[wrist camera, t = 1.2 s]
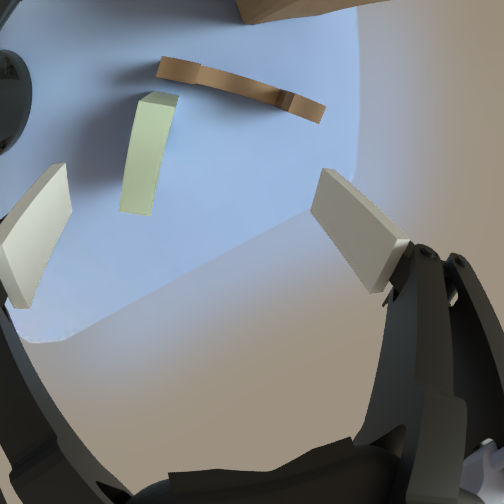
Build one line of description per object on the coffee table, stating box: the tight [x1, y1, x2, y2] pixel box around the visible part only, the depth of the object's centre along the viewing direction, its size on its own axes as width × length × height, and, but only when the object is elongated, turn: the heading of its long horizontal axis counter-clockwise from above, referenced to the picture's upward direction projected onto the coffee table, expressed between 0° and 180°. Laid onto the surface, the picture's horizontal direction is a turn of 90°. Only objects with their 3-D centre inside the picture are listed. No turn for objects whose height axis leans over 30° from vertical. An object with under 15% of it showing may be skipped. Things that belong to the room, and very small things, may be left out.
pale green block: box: [119, 91, 179, 216], centre depth 26 cm, size 10×3×11 cm, turn 161°
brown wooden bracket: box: [156, 56, 326, 124], centre depth 25 cm, size 16×2×8 cm, turn 71°
